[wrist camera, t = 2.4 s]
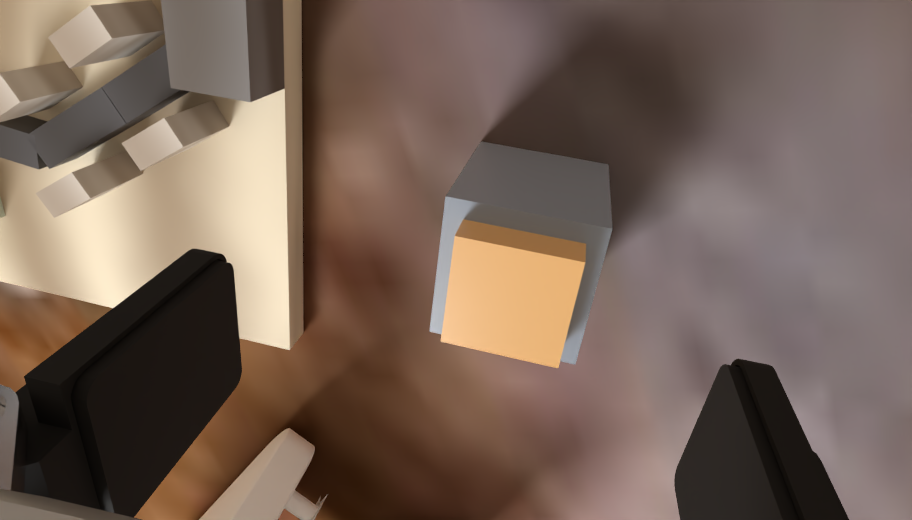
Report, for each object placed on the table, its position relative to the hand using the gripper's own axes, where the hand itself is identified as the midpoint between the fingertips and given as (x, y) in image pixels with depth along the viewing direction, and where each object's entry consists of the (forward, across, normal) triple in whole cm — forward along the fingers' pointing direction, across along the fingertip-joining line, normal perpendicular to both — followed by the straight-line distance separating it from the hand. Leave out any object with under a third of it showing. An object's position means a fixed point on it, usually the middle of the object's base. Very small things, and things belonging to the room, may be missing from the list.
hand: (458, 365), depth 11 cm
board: (+9, +17, 0) cm, 20 cm away
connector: (+9, -1, 0) cm, 9 cm away
